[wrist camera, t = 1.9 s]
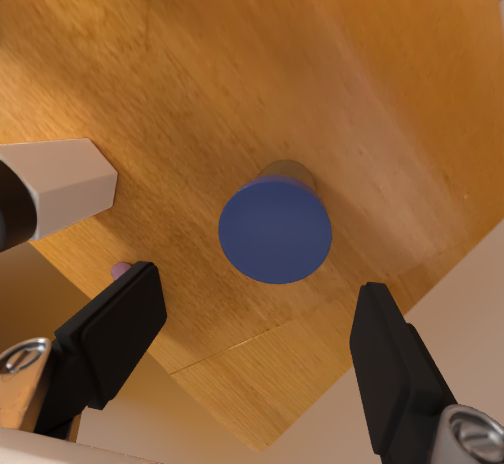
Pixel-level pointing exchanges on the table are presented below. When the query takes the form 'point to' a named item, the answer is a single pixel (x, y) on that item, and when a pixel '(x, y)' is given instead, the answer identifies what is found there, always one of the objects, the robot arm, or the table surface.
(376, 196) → the table surface
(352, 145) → the table surface
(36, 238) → the jar
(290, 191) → the lid
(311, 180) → the jam jar
